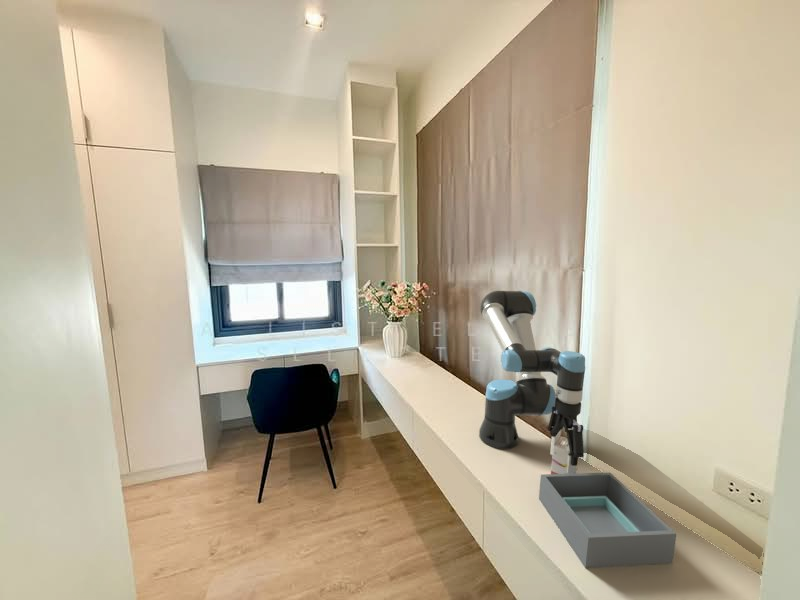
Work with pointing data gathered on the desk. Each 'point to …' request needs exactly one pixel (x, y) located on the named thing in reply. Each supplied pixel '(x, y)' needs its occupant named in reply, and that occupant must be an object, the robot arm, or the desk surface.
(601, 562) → the grey square tray
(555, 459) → the ink cartridge box
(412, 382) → the desk surface
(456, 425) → the desk surface
